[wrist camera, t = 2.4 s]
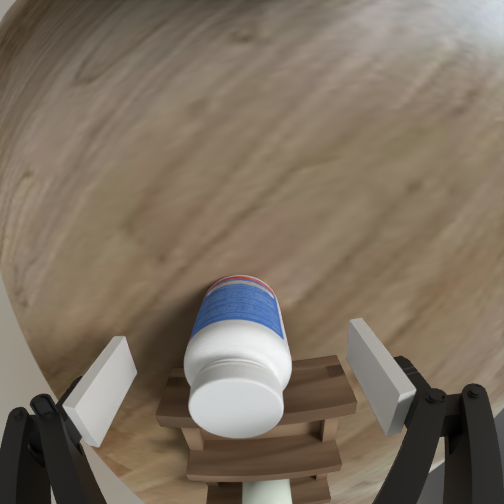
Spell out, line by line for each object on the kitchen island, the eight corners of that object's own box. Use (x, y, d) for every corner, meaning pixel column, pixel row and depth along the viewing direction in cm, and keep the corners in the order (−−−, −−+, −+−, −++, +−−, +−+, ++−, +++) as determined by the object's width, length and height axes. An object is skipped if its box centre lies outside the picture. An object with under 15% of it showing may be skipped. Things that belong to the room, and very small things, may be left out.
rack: (172, 367, 21) (155, 415, 15) (336, 355, 21) (357, 401, 15) (212, 474, 25) (208, 510, 20) (321, 466, 25) (329, 502, 20)
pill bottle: (189, 289, 19) (144, 379, 10) (261, 260, 19) (273, 341, 9) (222, 350, 20) (208, 454, 11) (289, 327, 20) (315, 429, 11)
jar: (240, 453, 22) (238, 529, 13) (286, 449, 22) (296, 526, 13) (245, 472, 24) (244, 540, 15) (287, 469, 23) (294, 537, 15)
